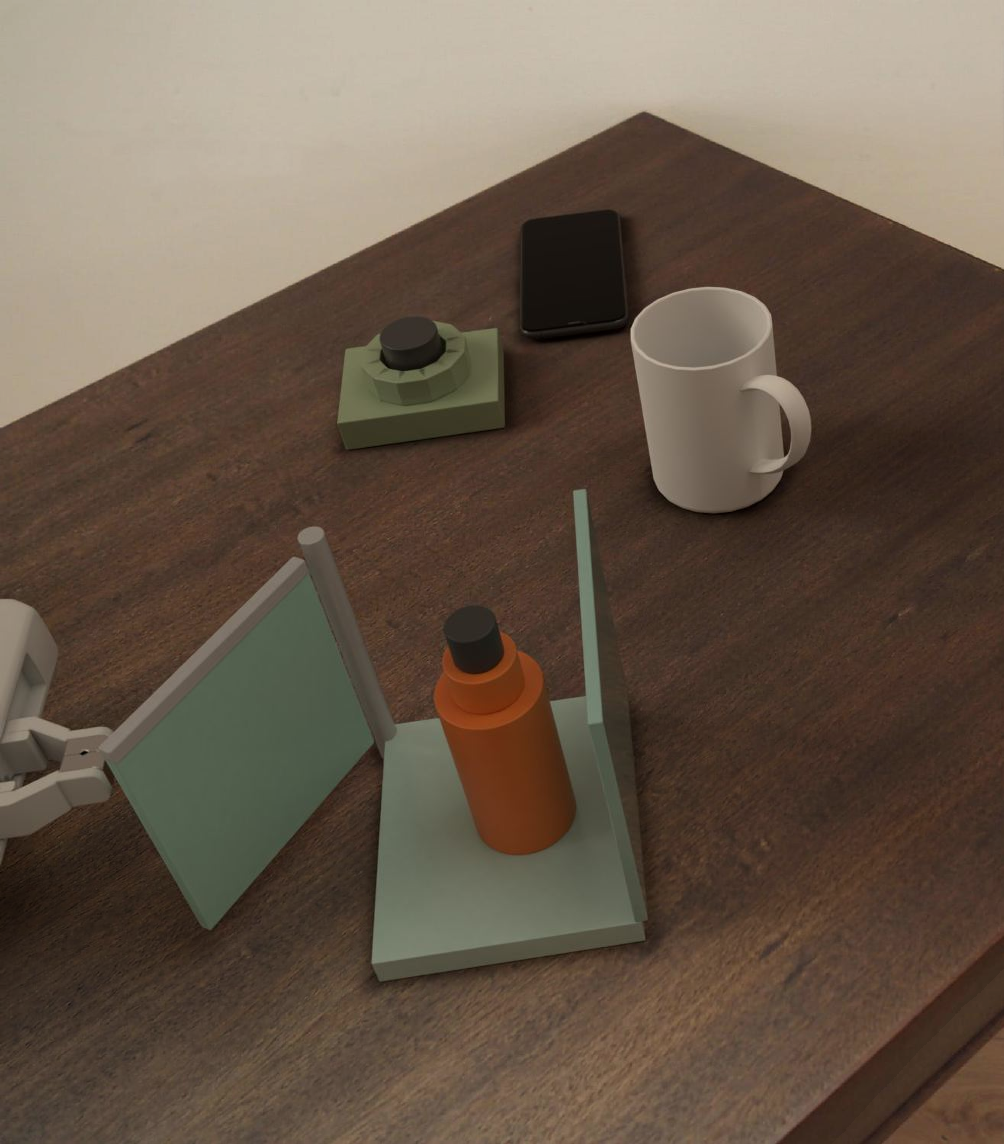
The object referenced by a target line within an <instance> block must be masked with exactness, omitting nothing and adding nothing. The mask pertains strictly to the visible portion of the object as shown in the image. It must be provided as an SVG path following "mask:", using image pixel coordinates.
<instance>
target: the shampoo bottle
mask: <svg viewBox="0 0 1004 1144" xmlns="http://www.w3.org/2000/svg"><path fill="white" fill-rule="evenodd" d="M443 633H444V637H445V640H446V643H447V645H448V646H447V648H446V650H445V651H444V653H443V655H442V660H441V665H442V666H441V667H442V669H443V670H442V671H443V673H442V674H441V675H440V676H439V678H438V679H437V682H436V684H435V687H434V691H433V703H434V707H435V710H436V712H437V716H438V718H439V719H440V722H441V725H442V728H443V731H444V734H445V737H446V740H447V743H448V746H449V749H450V752H451V755H452V758H453V761H454V764H455V767H456V770H457V773H458V776H459V779H460V781H461V784H462V787H463V790H464V793H465V796H466V799H467V802H468V805H469V808H470V811H471V814H472V817H473V820H474V823H475V826H476V829H477V832H478V834H479V836H480V837H481V839H482V840H483V841H484V842H485V844H487V845H488V846H489V847H491V848H492V849H494V850H496V851H498V852H501V853H505V854H510V855H526V854H531V853H535V852H539V851H541V850H544V849H546V848H548V847H550V846H551V845H553V844H555V843H556V842H557V841H559V840H560V839H561V838H562V837H563V836H564V835H565V834H566V833H567V831H568V830H569V828H570V827H571V825H572V823H573V821H574V818H575V814H576V800H575V796H574V792H573V788H572V785H571V781H570V777H569V773H568V769H567V765H566V761H565V758H564V754H563V750H562V746H561V742H560V738H559V734H558V731H557V727H556V723H555V719H554V715H553V711H552V708H551V704H550V701H551V699H550V695H549V693H548V688H547V684H546V680H545V677H544V674H543V671H542V668H541V666H540V665H539V664H538V662H537V661H536V660H535V659H534V658H532V656H530V655H529V654H528V653H525V652H523V651H521V650H518V649H517V645H516V643H515V641H514V640H513V639H512V637H510V635H508V634H506V633H504V632H502V631H500V628H499V624H498V621H497V617H496V615H495V613H494V611H492V610H491V609H490V608H488V607H487V606H483V605H478V604H472V605H471V604H469V605H466V606H461V607H460V608H458V609H456V610H454V611H453V612H451V613H450V614H449V615H448V616H447V618H446V619H445V621H444V625H443Z"/></svg>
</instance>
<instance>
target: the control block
mask: <svg viewBox="0 0 1004 1144" xmlns="http://www.w3.org/2000/svg"><path fill="white" fill-rule="evenodd" d="M432 321H433V322H434V323H435V324H436V326H437V329H438V333H439V337H440V341H441V344H442V348H443V351H442V355H441V357H440V358H439V360H438V361H437V362H435V363H433V364H431V365H428V366H426V367H424V368H422V369H417V370H410V371H398V370H394V369H392V368H390V367H389V366H388V365H387V363H386V360H385V357H384V353H383V350H382V347H381V343H380V340H379V337H380V333H378V334H376V335H375V336H374V337H373V338H372V339H371V340H370V341H369V343H367V344H366V345H364V346H356V347H350V348H349V347H348V348H346V349H345V351H344V359H343V368H342V377H341V387H340V394H339V402H338V403H339V405H338V412H337V421H336V422H337V427H338V429H339V434H340V436H341V438H342V439H341V440H342V441H343V445H344V448H345V450H346V451H351V450H357V449H363V448H373V447H377V446H384V445H392V444H399V443H400V444H401V443H406V442H407V443H408V442H412V441H413V442H414V441H420V440H428V439H434V438H435V439H436V438H443V437H448V436H455V435H464V434H469V433H470V434H471V433H476V432H477V433H478V432H483V431H484V432H485V431H491V430H497V429H504V428H506V417H505V415H506V414H505V413H506V410H505V409H506V407H505V353H504V350H503V345H502V342H501V336H500V332H499V328H498V327H493V328H486V329H478V330H472V331H464V332H462V331H460V330H459V329H458V328H456V327H455V326H454V325H453V324H451V323H446V322H441V321H436V320H432Z"/></svg>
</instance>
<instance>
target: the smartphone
mask: <svg viewBox="0 0 1004 1144" xmlns="http://www.w3.org/2000/svg"><path fill="white" fill-rule="evenodd" d="M519 229H520V231H519V234H520V235H519V239H520V240H519V305H518V307H519V332H520V334H521V336H522V337H523V338H525V339H527V340H542V339H543V340H544V339H549V338H550V339H551V338H559V337H566V336H573V335H581V334H589V333H597V332H605V331H612V330H613V331H614V330H619V329H621V328H623V327H624V326H626V325H627V324H628V323H629V319H630V313H629V312H630V311H629V301H628V299H629V297H628V284H627V278H626V277H627V276H626V266H625V256H624V255H625V254H624V243H623V242H624V241H623V231H622V218H621V215H620V213H619V212H618V211H616V210H615V209H597V210H591V211H581V212H575V213H566V214H559V215H551V216H543V217H542V216H541V217H535V218H530V219H527V220H525V221H523V223H522V224H521V226H520V228H519Z"/></svg>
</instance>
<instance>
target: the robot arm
mask: <svg viewBox="0 0 1004 1144" xmlns="http://www.w3.org/2000/svg"><path fill="white" fill-rule="evenodd" d="M58 659H59V648H58V646H57V642H56V640H55V639H54V637H53V635H52V634H51V632H50V630H49V628H48V626H47V624H46V623H45V621H44V619H43V618H42V617H41V615H40V613H39V612H38V610H37V609H35V608H34V607H33V606H31V605H29V604H27V603H25V602H22V601H20V600H18V599H13V598H0V867H1V866H2V862H3V858H4V855H5V851H6V849H7V848H6V847H7V844H8V842H9V841H8V840H9V839H13V838H19V837H26V836H30V835H32V834H34V833H35V832H37V831H39V830H40V829H42V828H43V827H45V826H47V825H48V824H50V823H52V822H53V821H55V820H56V819H58V818H60V817H62V816H63V815H64V814H66V813H68V812H70V811H71V810H72V809H73V808H74V807H80V806H86V805H93V804H98V803H99V804H100V803H104V802H107V801H109V800H110V798H111V794H112V791H113V785H114V780H115V776H114V774H113V773H112V771H111V769H110V767H109V766H108V764H107V762H106V760H104V758H103V756H102V755H101V753H100V751H99V749H98V747H99V746H100V745H101V744H102V743H103V742H104V741H105V740H106V739H107V738H108V737H109V736H110V735H111V734H112V733H113V732H114V730H113V729H111V728H109V727H107V726H95V727H88V728H81V729H74V730H71V729H70V728H68V727H65V726H63V725H60V724H57V723H55V722H52V721H50V720H46V719H43V718H42V717H43V714H44V711H45V710H44V709H45V706H46V702H47V698H48V695H49V691H50V688H51V685H52V681H53V676H54V673H55V669H56V666H57V663H58ZM49 760H51V761H55V762H59V763H60V767H59V769H57V770H55V771H53V772H51V773H49V774H46V775H45V776H42V777H40V778H39V779H36V780H34V781H32V782H30V783H28V784H26V785H24V782H25V779H26V775H27V773H33V772H39V771H44V770H45V769H47V768H48V764H49Z"/></svg>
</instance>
